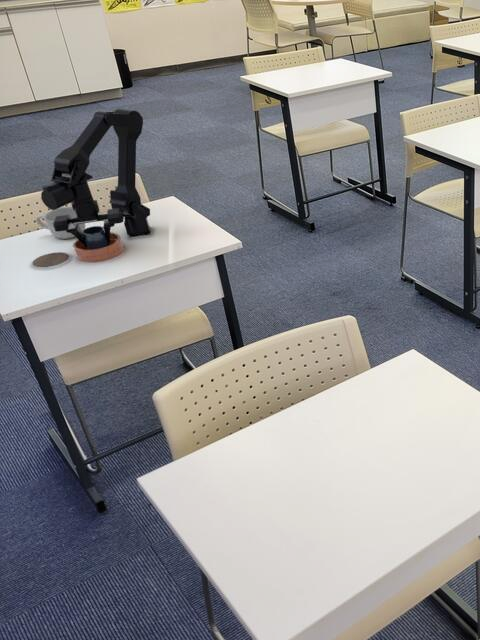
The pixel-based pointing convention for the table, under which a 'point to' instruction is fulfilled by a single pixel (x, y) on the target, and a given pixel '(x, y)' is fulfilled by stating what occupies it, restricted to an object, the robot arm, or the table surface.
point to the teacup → (50, 219)
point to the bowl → (99, 250)
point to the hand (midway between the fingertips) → (98, 245)
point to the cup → (95, 237)
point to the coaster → (50, 259)
